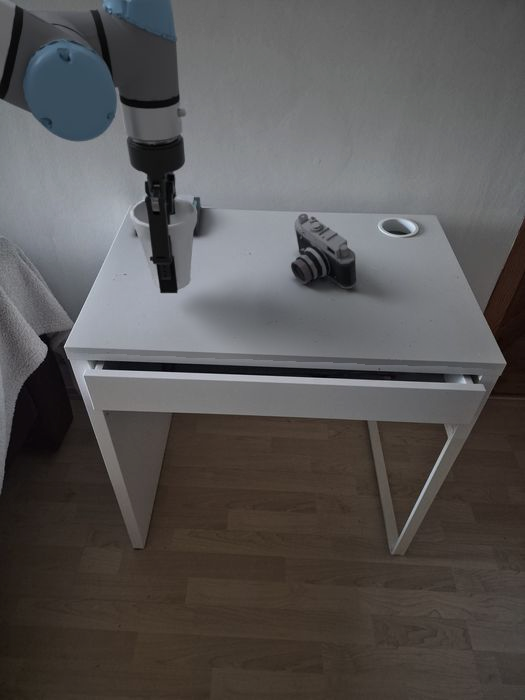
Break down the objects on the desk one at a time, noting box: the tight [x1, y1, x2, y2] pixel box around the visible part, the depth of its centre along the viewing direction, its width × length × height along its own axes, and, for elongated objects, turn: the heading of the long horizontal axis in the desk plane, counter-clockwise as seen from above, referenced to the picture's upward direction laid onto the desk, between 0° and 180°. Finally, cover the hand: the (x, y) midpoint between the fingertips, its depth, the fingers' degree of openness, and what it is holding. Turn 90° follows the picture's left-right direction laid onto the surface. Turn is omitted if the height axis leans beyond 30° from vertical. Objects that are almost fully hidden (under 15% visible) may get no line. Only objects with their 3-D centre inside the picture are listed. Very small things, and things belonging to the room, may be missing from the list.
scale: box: [134, 194, 202, 237], centre depth 98 cm, size 13×13×4 cm
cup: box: [129, 197, 197, 291], centre depth 72 cm, size 10×10×13 cm
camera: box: [290, 213, 357, 289], centre depth 83 cm, size 16×9×10 cm, turn 34°
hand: (171, 275), depth 75 cm, fingers closed on cup, 8 cm apart
